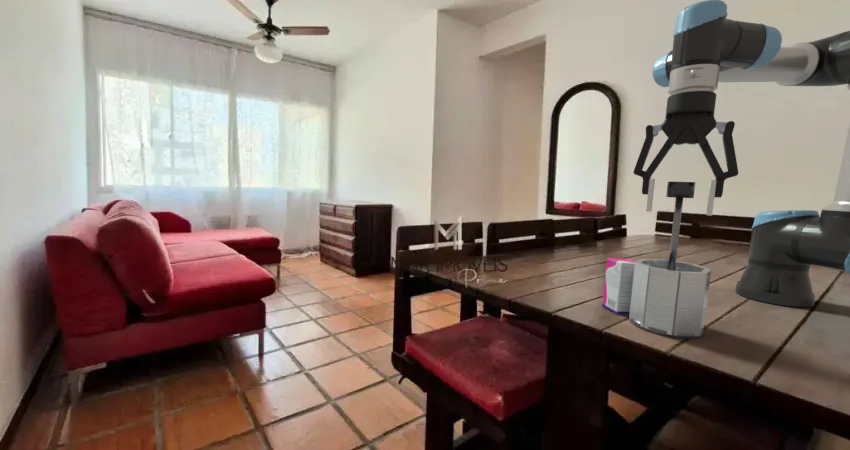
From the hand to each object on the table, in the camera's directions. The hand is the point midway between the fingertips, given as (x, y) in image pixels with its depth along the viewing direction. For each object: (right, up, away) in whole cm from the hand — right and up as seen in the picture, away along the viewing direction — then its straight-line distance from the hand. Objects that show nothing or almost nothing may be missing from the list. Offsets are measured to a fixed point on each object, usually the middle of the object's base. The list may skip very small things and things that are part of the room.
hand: (677, 213), depth 72 cm
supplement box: (-5, -22, +11) cm, 25 cm away
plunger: (0, -14, +2) cm, 14 cm away
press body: (-1, -23, +4) cm, 23 cm away
